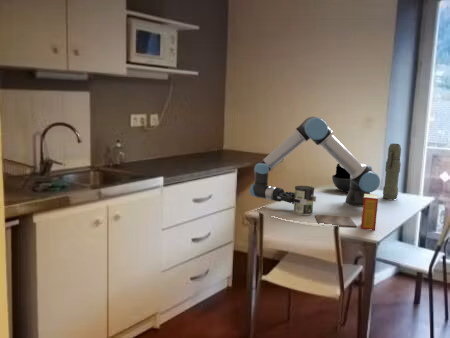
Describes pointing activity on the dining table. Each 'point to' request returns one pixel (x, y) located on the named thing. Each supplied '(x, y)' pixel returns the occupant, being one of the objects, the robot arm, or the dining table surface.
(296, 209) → the coffee can
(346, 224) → the walnut board
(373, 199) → the baking soda box
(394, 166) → the olive green rough column
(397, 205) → the dining table surface
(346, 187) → the coal bowl
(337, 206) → the dining table surface
